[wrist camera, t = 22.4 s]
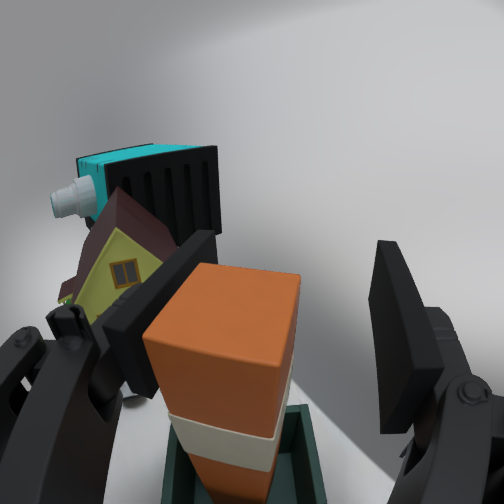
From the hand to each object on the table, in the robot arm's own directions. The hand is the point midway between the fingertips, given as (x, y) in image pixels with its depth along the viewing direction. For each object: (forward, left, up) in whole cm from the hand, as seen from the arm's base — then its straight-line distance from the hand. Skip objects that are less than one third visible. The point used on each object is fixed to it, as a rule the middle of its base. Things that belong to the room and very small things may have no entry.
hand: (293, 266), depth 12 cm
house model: (-15, +16, -15) cm, 27 cm away
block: (-2, -5, -14) cm, 15 cm away
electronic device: (-23, +37, -15) cm, 46 cm away
